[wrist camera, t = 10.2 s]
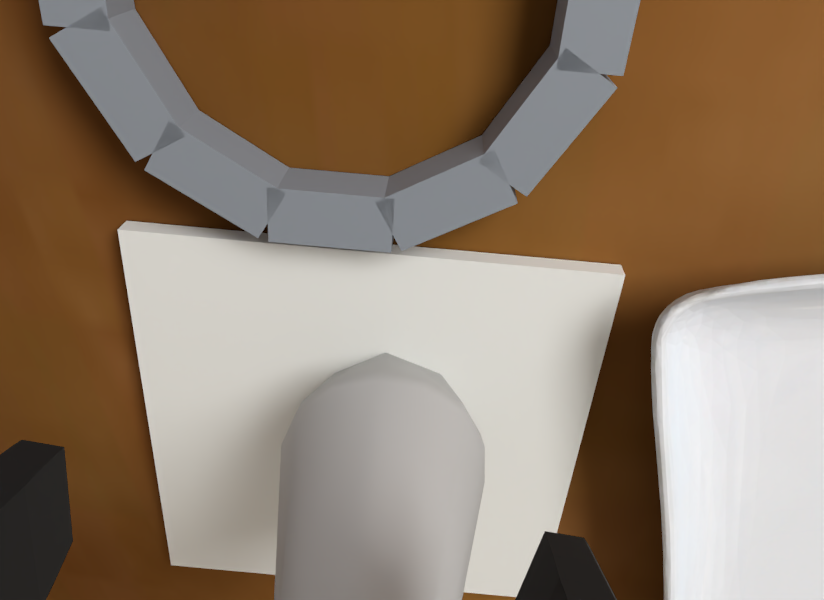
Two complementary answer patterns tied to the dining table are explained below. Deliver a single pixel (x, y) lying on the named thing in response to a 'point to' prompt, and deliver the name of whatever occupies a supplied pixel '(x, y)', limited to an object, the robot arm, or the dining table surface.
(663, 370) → the salad plate
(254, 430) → the mat
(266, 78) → the dining table surface
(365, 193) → the collar
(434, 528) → the salt shaker
